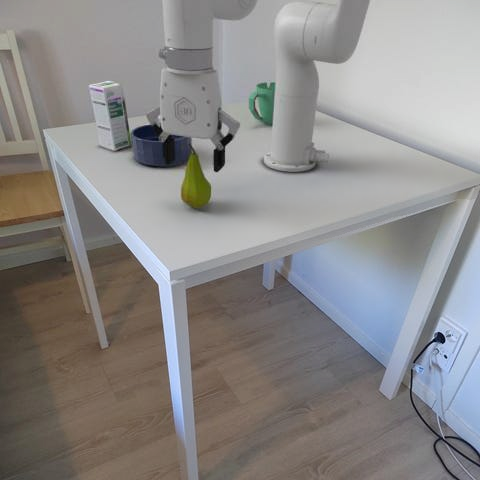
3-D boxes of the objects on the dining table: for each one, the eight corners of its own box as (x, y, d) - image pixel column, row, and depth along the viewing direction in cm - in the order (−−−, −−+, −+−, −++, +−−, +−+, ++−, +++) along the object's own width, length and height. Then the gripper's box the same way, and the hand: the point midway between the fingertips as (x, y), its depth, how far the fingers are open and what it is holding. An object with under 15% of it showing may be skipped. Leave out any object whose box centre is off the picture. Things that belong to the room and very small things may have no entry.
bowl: (201, 152, 108) (200, 127, 104) (177, 171, 98) (175, 145, 94) (150, 145, 111) (148, 120, 108) (123, 163, 101) (119, 137, 97)
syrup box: (114, 151, 107) (104, 87, 98) (99, 146, 110) (88, 83, 100) (132, 145, 111) (123, 83, 101) (117, 141, 113) (107, 79, 104)
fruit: (216, 210, 83) (216, 147, 76) (186, 215, 81) (182, 151, 74) (206, 197, 88) (204, 136, 80) (177, 201, 86) (172, 140, 78)
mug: (268, 116, 135) (271, 80, 128) (293, 122, 130) (297, 86, 123) (237, 125, 126) (238, 88, 120) (262, 133, 121) (264, 94, 115)
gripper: (130, 58, 67) (143, 166, 78) (233, 68, 64) (231, 180, 75) (152, 52, 73) (161, 153, 84) (248, 60, 69) (244, 165, 80)
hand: (194, 165), depth 79 cm, fingers open, 9 cm apart
